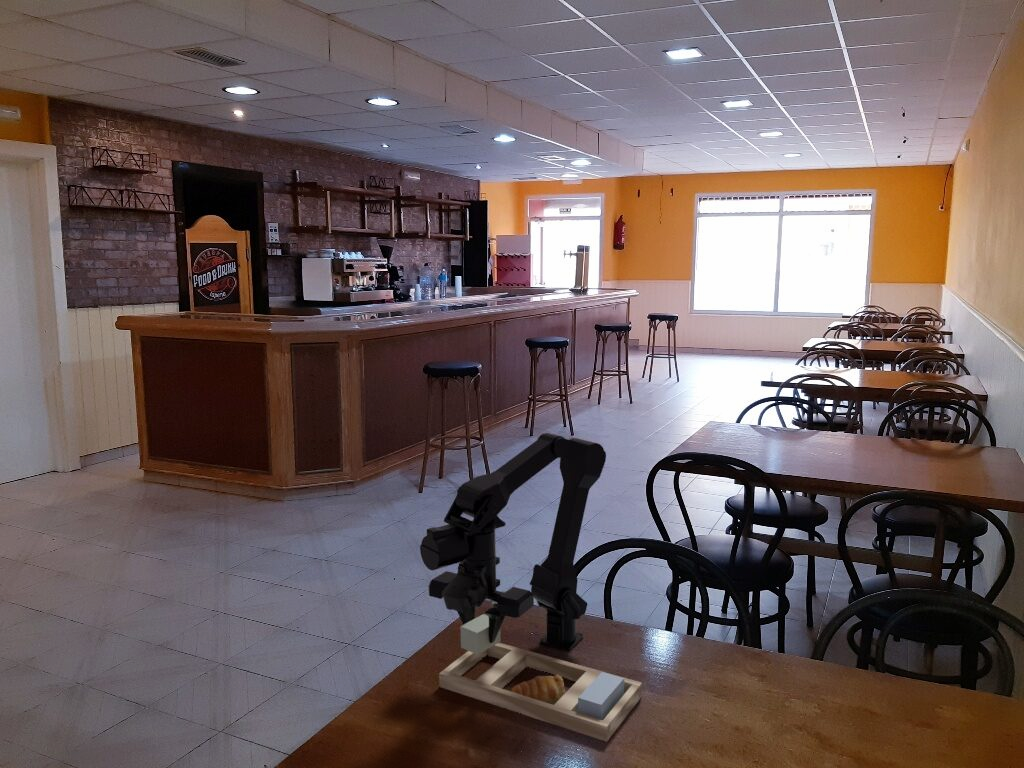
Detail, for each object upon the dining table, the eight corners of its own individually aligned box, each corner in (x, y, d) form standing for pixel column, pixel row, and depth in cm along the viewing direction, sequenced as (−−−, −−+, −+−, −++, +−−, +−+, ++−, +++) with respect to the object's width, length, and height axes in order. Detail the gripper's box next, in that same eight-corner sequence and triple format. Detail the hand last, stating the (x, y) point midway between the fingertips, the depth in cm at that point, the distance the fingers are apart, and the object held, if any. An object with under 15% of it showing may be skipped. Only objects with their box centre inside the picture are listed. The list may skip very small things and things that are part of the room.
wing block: (601, 696, 132) (602, 671, 131) (623, 703, 130) (624, 678, 129) (577, 723, 124) (578, 697, 124) (600, 731, 122) (601, 704, 121)
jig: (484, 650, 147) (484, 638, 147) (641, 696, 131) (642, 682, 131) (439, 686, 135) (439, 673, 135) (606, 741, 119) (606, 726, 119)
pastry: (513, 714, 127) (513, 692, 126) (506, 692, 134) (506, 671, 133) (569, 708, 129) (569, 687, 128) (560, 687, 135) (560, 666, 135)
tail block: (483, 634, 142) (483, 614, 141) (500, 641, 139) (500, 620, 139) (460, 647, 137) (460, 626, 137) (477, 654, 135) (477, 633, 134)
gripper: (407, 560, 134) (410, 645, 136) (500, 582, 124) (502, 673, 127) (445, 540, 143) (448, 620, 146) (534, 558, 134) (535, 644, 136)
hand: (481, 638), depth 138 cm, fingers closed on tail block, 4 cm apart
